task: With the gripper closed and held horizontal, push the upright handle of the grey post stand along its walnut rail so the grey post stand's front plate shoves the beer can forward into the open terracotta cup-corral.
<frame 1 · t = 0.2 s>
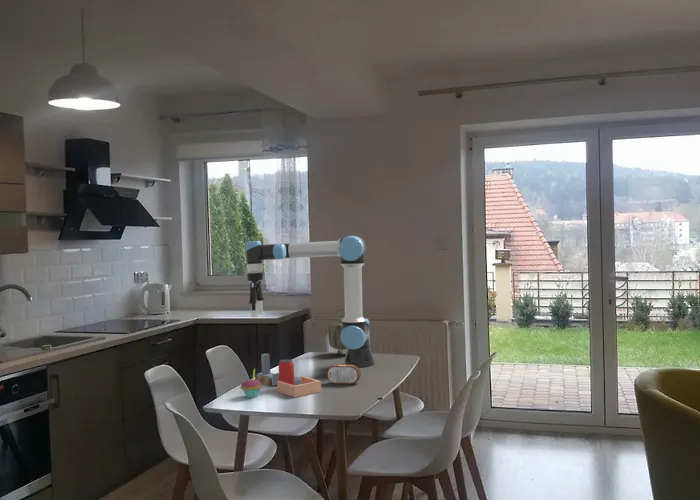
hand: (257, 315, 314), 28 cm above the table, tool pointing down, fingers open, 13 cm apart
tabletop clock: (343, 355, 349), on the table
cupcake: (251, 397, 263), on the table
beer can: (287, 388, 276), on the table
grey post stand: (270, 368, 287), point 7 cm above the table, slide at 0.0 cm
tin: (343, 384, 279), on the table
launcher rail: (270, 382, 288), on the table
cup corral: (298, 391, 268), on the table
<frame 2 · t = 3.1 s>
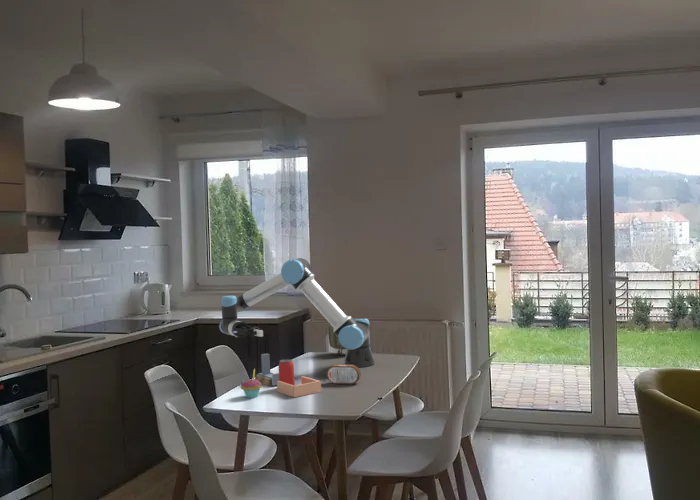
hand: (261, 333, 293), 22 cm above the table, tool horizontal, fingers closed
nothing on the table moved.
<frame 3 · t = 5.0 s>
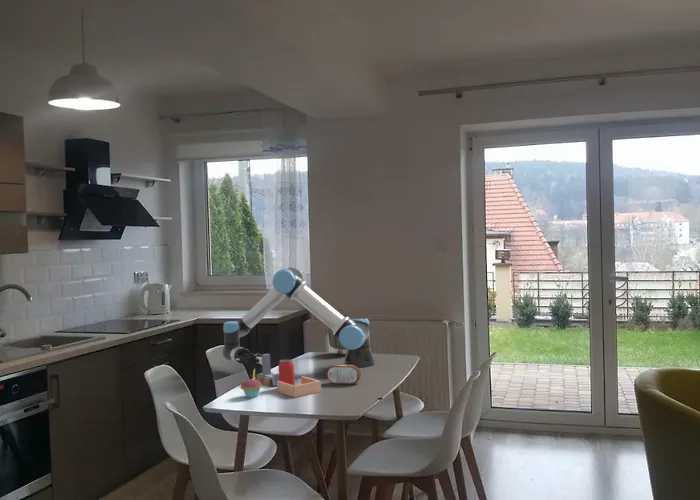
hand: (264, 361, 292), 9 cm above the table, tool horizontal, fingers closed
grey post stand: (270, 368, 287), point 7 cm above the table, slide at 0.5 cm, touching gripper
everything else where it was.
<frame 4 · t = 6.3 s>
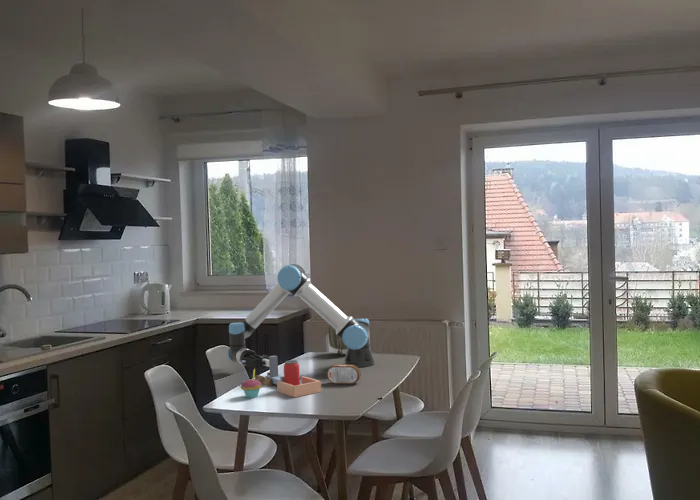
hand: (270, 363, 286), 9 cm above the table, tool horizontal, fingers closed
beer can: (292, 389, 272), on the table, touching grey post stand
grey post stand: (278, 370, 281), point 7 cm above the table, slide at 7.4 cm, touching beer can, gripper
everything else where it was.
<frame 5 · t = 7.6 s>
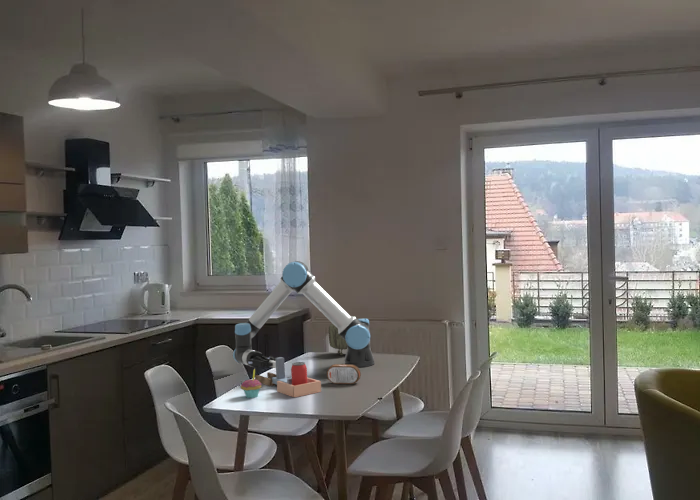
hand: (277, 365, 281), 9 cm above the table, tool horizontal, fingers closed
beer can: (300, 392, 268), on the table, touching grey post stand
grey post stand: (285, 372, 277), point 7 cm above the table, slide at 13.3 cm, touching beer can, gripper
everything else where it was.
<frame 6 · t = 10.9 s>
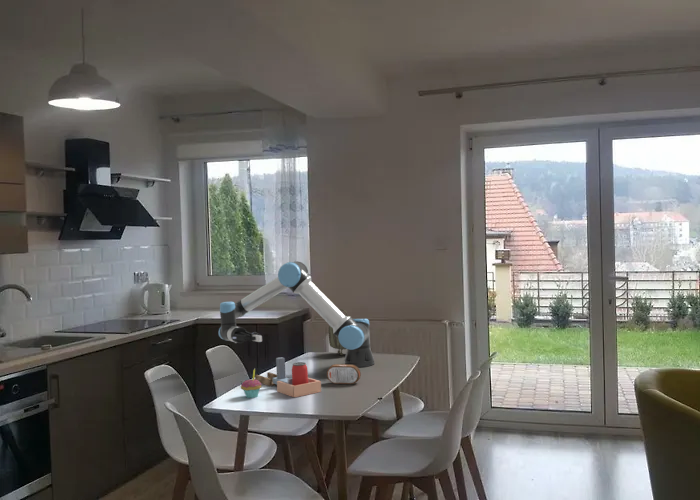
hand: (260, 338, 293), 19 cm above the table, tool horizontal, fingers closed
beer can: (300, 392, 267), on the table
grey post stand: (285, 372, 276), point 7 cm above the table, slide at 13.8 cm
everything else where it was.
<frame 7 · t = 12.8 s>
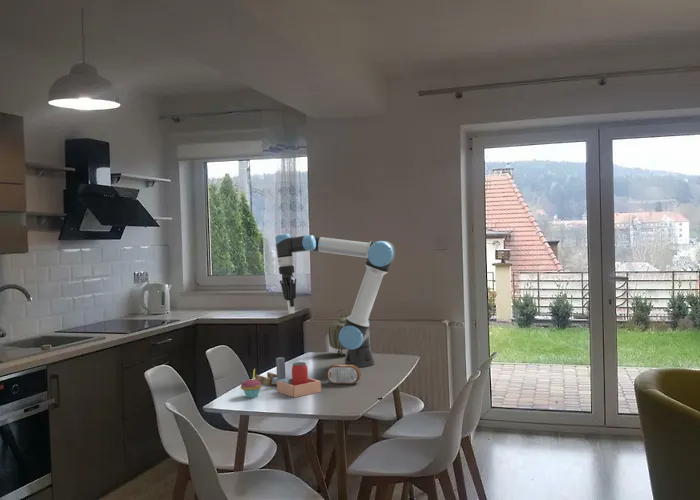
hand: (291, 313, 312), 28 cm above the table, tool pointing down, fingers closed
nothing on the table moved.
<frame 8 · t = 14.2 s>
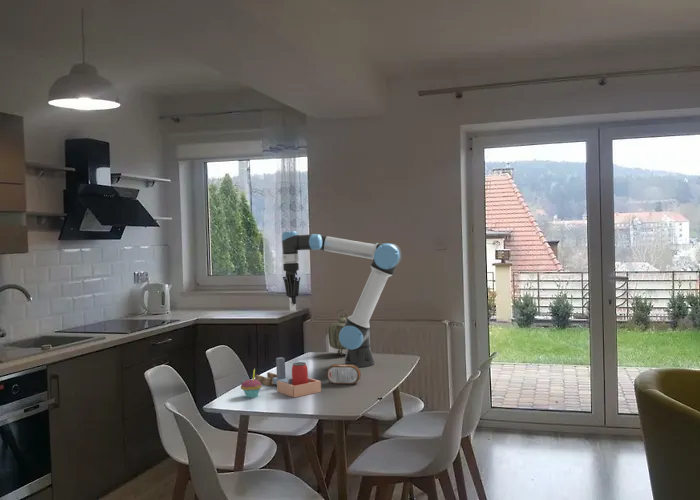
hand: (293, 310, 313), 29 cm above the table, tool pointing down, fingers closed
nothing on the table moved.
at the end: beer can 1.0 cm from the cup corral (horizontally); beer can tilted 0°; grey post stand slide at 13.8 cm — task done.
